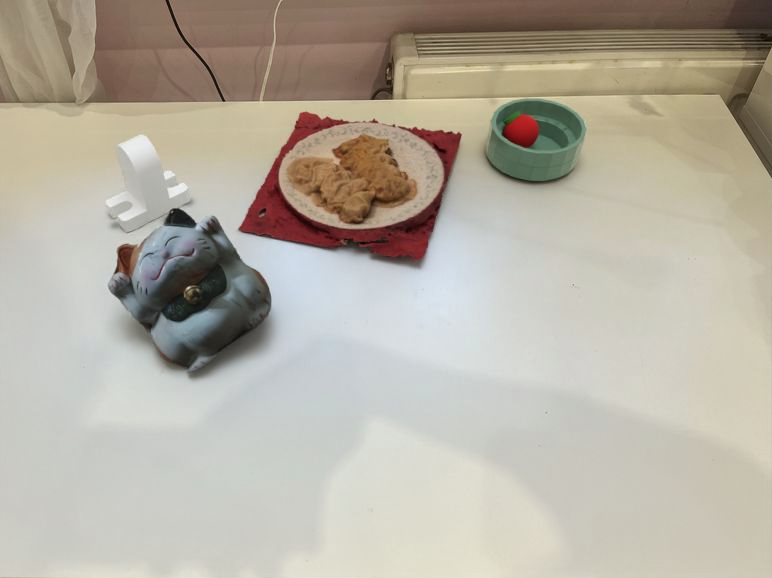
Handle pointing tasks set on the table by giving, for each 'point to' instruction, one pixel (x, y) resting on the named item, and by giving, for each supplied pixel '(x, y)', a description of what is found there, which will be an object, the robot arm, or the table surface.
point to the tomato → (521, 129)
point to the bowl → (550, 150)
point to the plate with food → (355, 185)
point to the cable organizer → (144, 186)
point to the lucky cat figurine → (190, 289)
